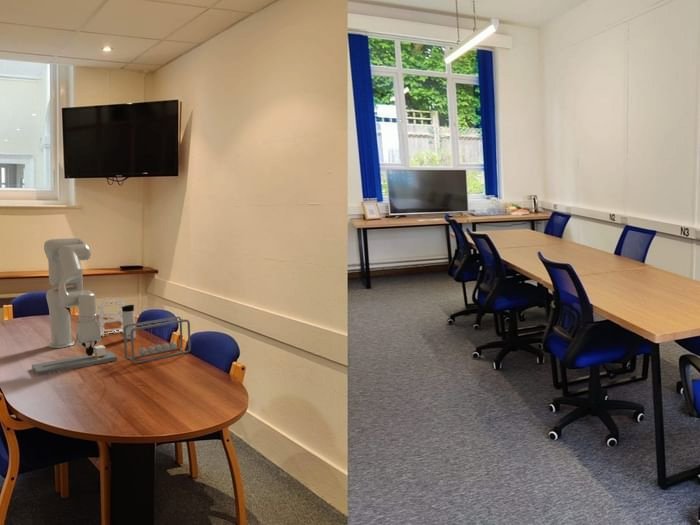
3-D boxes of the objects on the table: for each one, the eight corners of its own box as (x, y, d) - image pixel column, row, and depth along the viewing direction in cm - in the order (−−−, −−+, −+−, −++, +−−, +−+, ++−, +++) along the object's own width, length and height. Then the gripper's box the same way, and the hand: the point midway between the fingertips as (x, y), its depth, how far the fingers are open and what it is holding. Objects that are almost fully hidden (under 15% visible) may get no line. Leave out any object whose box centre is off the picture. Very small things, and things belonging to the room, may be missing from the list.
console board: (32, 369, 236) (31, 364, 235) (109, 354, 258) (108, 350, 258) (37, 376, 226) (37, 371, 226) (117, 360, 248) (117, 356, 248)
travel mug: (131, 340, 284) (129, 306, 281) (121, 340, 285) (119, 305, 283) (138, 338, 290) (136, 303, 288) (128, 337, 291) (126, 303, 289)
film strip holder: (124, 329, 311) (122, 297, 308) (127, 334, 299) (125, 300, 297) (98, 332, 303) (96, 299, 301) (100, 337, 291) (98, 303, 289)
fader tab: (94, 354, 250) (93, 346, 249) (102, 353, 252) (102, 345, 252) (97, 357, 246) (96, 348, 245) (105, 355, 249) (105, 347, 248)
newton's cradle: (132, 365, 242) (130, 328, 239) (124, 360, 249) (122, 325, 247) (191, 352, 262) (190, 318, 260) (182, 348, 270) (180, 315, 268)
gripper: (101, 314, 252) (103, 350, 254) (68, 319, 242) (71, 356, 244) (106, 317, 246) (108, 353, 248) (72, 322, 236) (75, 360, 238)
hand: (89, 355), depth 246 cm, fingers closed
